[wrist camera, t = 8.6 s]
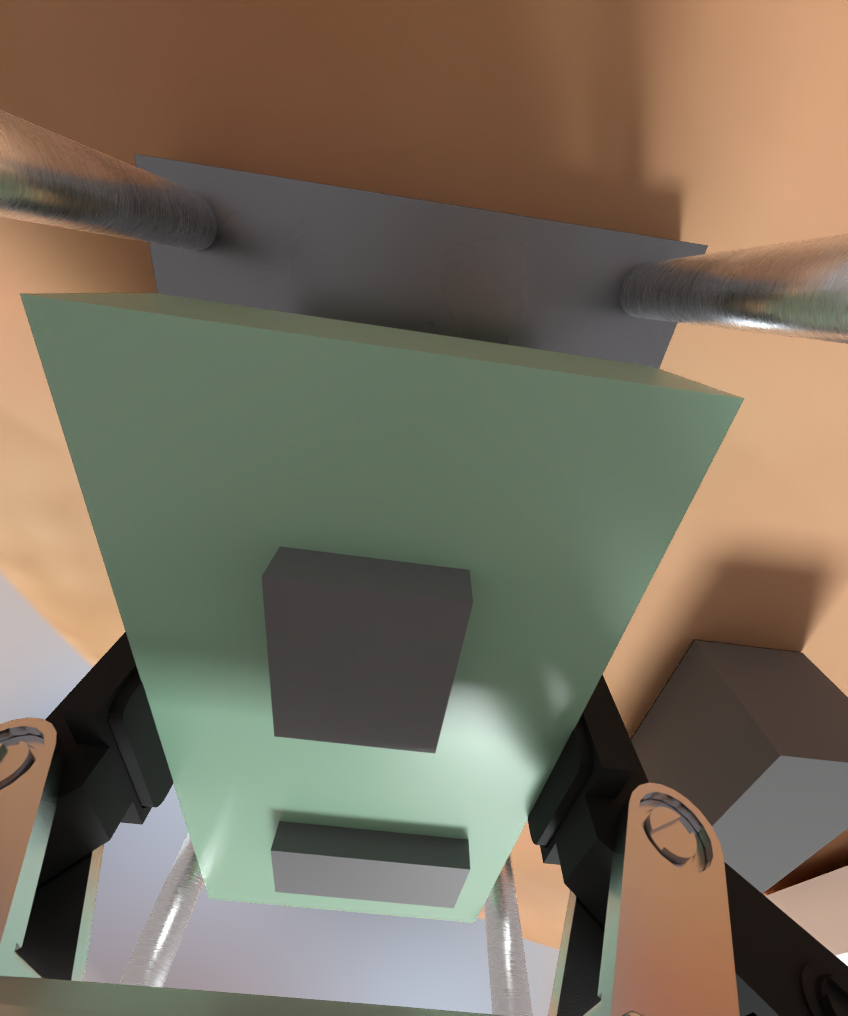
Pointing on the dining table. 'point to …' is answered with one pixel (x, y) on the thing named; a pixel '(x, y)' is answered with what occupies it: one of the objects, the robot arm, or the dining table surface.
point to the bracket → (820, 909)
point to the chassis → (410, 321)
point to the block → (753, 753)
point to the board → (364, 574)
